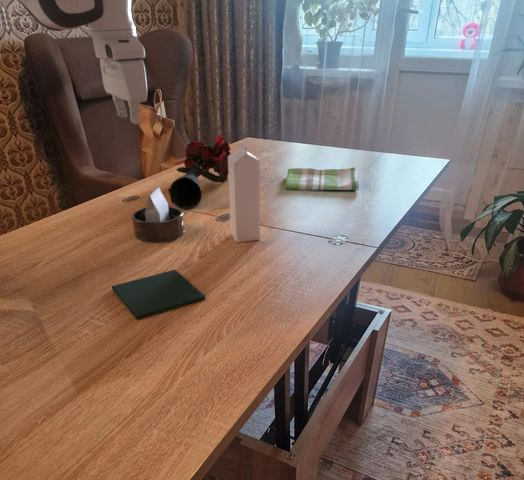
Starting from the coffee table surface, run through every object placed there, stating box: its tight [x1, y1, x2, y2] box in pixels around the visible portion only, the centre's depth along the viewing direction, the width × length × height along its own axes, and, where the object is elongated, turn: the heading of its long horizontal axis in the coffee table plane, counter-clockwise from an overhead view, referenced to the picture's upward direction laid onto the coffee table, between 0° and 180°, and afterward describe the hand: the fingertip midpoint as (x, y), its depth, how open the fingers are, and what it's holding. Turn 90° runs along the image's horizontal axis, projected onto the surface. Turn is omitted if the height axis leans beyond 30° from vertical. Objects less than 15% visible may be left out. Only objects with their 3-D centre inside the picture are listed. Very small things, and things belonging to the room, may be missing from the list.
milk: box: [227, 140, 261, 243], centre depth 114 cm, size 6×6×22 cm
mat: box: [111, 269, 206, 320], centre depth 96 cm, size 14×14×1 cm
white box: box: [145, 186, 170, 222], centre depth 119 cm, size 4×7×10 cm, turn 171°
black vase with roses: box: [167, 135, 232, 211], centre depth 148 cm, size 16×18×35 cm
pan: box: [131, 205, 185, 244], centre depth 121 cm, size 12×12×5 cm
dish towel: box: [284, 166, 360, 191], centre depth 156 cm, size 17×23×4 cm
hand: (129, 120), depth 107 cm, fingers open, 8 cm apart
